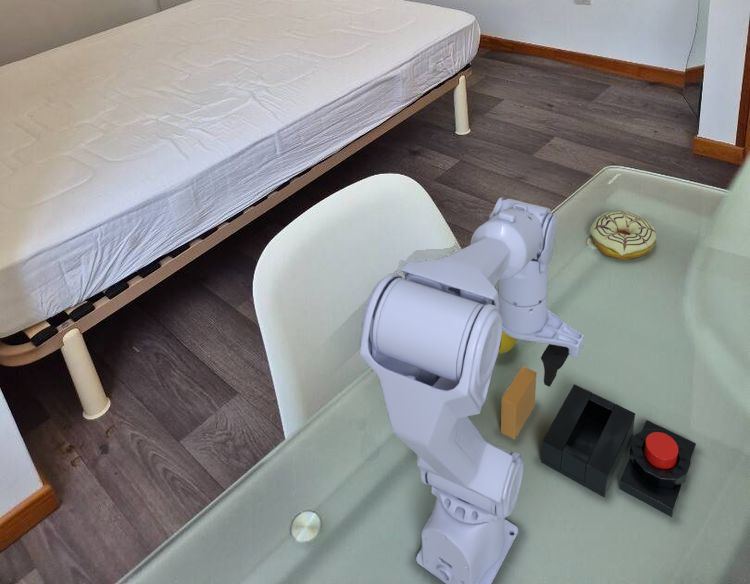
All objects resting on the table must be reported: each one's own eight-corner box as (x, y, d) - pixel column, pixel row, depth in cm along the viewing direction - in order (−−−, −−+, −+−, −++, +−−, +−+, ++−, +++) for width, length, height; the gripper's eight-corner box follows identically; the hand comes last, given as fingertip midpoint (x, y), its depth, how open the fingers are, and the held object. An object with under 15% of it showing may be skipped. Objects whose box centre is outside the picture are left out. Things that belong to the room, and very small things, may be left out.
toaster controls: (673, 519, 78) (677, 502, 77) (616, 487, 82) (619, 471, 80) (696, 451, 85) (700, 435, 84) (643, 425, 89) (645, 409, 87)
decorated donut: (577, 239, 122) (578, 222, 121) (618, 217, 127) (620, 200, 125) (624, 271, 114) (626, 253, 112) (667, 246, 119) (669, 229, 117)
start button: (671, 474, 80) (673, 465, 79) (640, 458, 82) (641, 449, 81) (680, 451, 82) (682, 441, 82) (649, 436, 84) (651, 426, 84)
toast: (514, 440, 88) (516, 405, 85) (500, 432, 89) (501, 397, 86) (534, 406, 92) (536, 372, 89) (521, 399, 93) (522, 365, 90)
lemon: (517, 367, 98) (518, 325, 95) (478, 362, 99) (478, 321, 96) (517, 337, 103) (519, 297, 100) (480, 333, 104) (480, 293, 101)
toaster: (604, 498, 81) (607, 476, 79) (540, 462, 85) (542, 441, 83) (632, 434, 88) (635, 413, 86) (572, 404, 92) (574, 383, 90)
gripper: (596, 290, 79) (589, 368, 85) (483, 245, 87) (485, 320, 93) (572, 332, 74) (567, 412, 81) (455, 281, 82) (459, 357, 89)
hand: (521, 365), depth 87 cm, fingers open, 7 cm apart
